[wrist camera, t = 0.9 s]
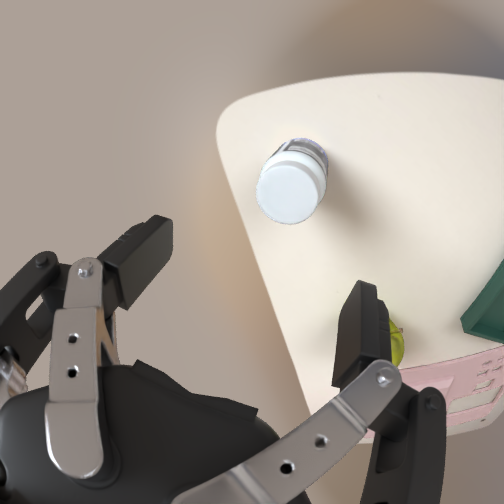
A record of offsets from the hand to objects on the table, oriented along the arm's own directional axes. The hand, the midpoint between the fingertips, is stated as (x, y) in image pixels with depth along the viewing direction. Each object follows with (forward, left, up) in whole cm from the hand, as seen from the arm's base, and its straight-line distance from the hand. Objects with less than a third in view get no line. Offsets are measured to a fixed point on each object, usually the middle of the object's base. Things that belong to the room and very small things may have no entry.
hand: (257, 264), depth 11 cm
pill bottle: (0, 0, -16) cm, 16 cm away
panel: (+33, +41, -16) cm, 55 cm away
